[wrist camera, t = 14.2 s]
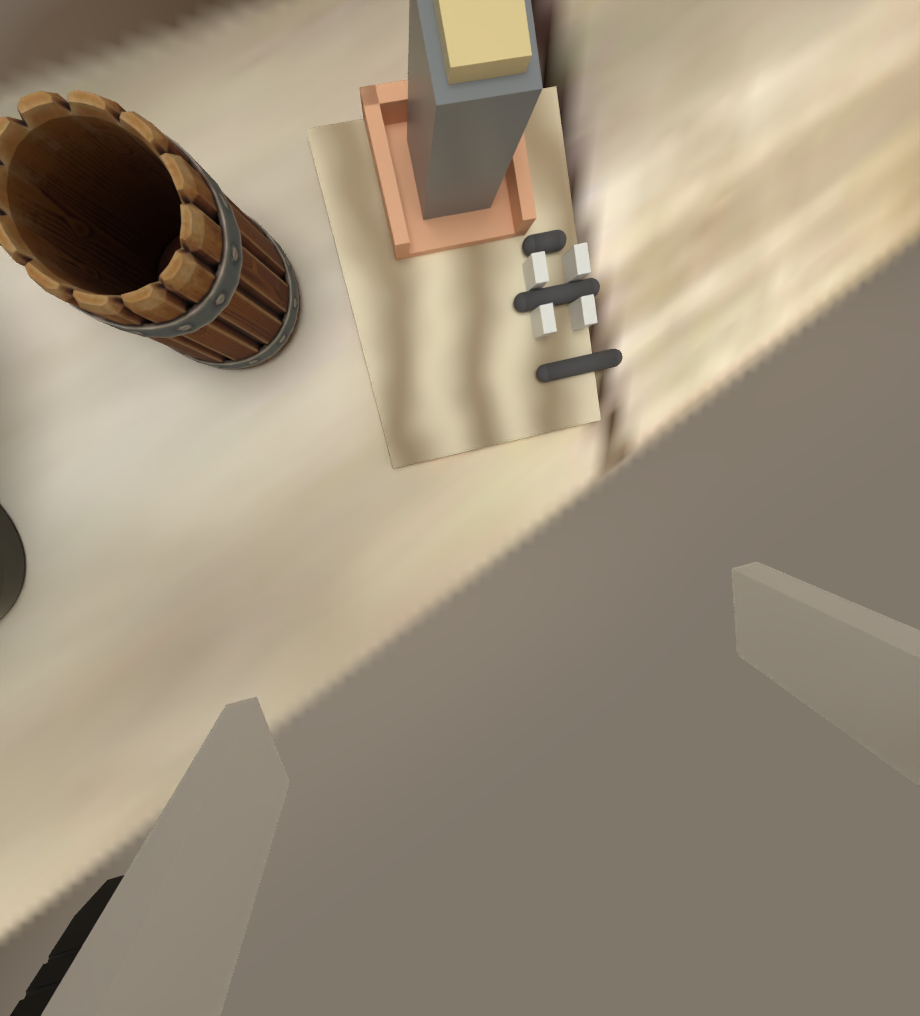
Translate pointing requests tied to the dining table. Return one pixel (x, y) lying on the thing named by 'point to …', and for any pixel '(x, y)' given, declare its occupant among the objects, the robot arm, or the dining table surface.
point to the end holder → (400, 192)
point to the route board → (455, 309)
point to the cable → (557, 296)
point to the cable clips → (574, 270)
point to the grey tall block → (468, 98)
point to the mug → (139, 232)
